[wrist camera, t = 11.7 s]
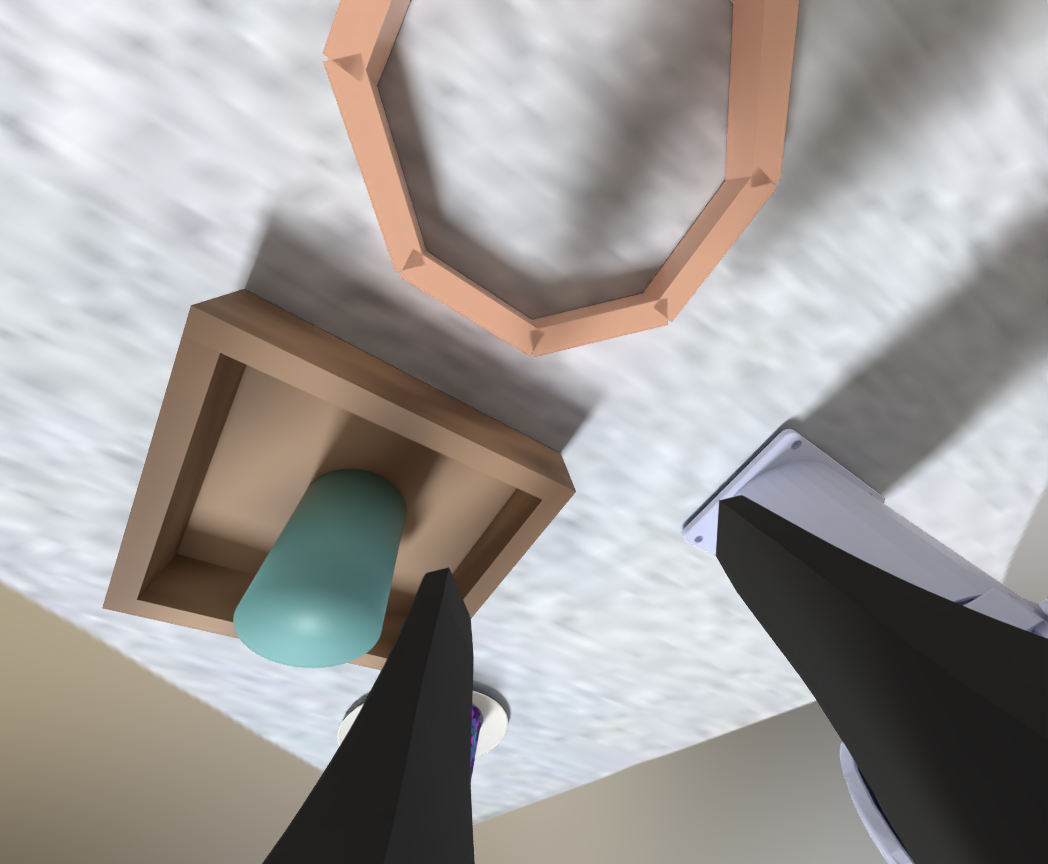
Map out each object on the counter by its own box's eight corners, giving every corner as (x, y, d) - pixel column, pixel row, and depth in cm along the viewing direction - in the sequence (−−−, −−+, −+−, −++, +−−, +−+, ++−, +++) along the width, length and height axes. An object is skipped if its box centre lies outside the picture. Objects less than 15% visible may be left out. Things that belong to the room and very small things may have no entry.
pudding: (397, 655, 25) (382, 753, 20) (539, 699, 29) (552, 788, 25) (309, 744, 28) (279, 845, 24) (448, 772, 33) (445, 860, 28)
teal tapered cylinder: (385, 458, 17) (348, 564, 12) (429, 555, 20) (416, 674, 15) (284, 482, 17) (202, 600, 12) (344, 576, 20) (300, 703, 15)
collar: (836, 75, 13) (877, 59, 12) (597, 389, 17) (607, 403, 16) (504, -391, 8) (511, -506, 7) (293, 201, 13) (272, 199, 11)
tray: (560, 453, 19) (576, 491, 16) (426, 627, 23) (421, 678, 21) (243, 288, 14) (190, 305, 11) (154, 552, 18) (102, 608, 16)
